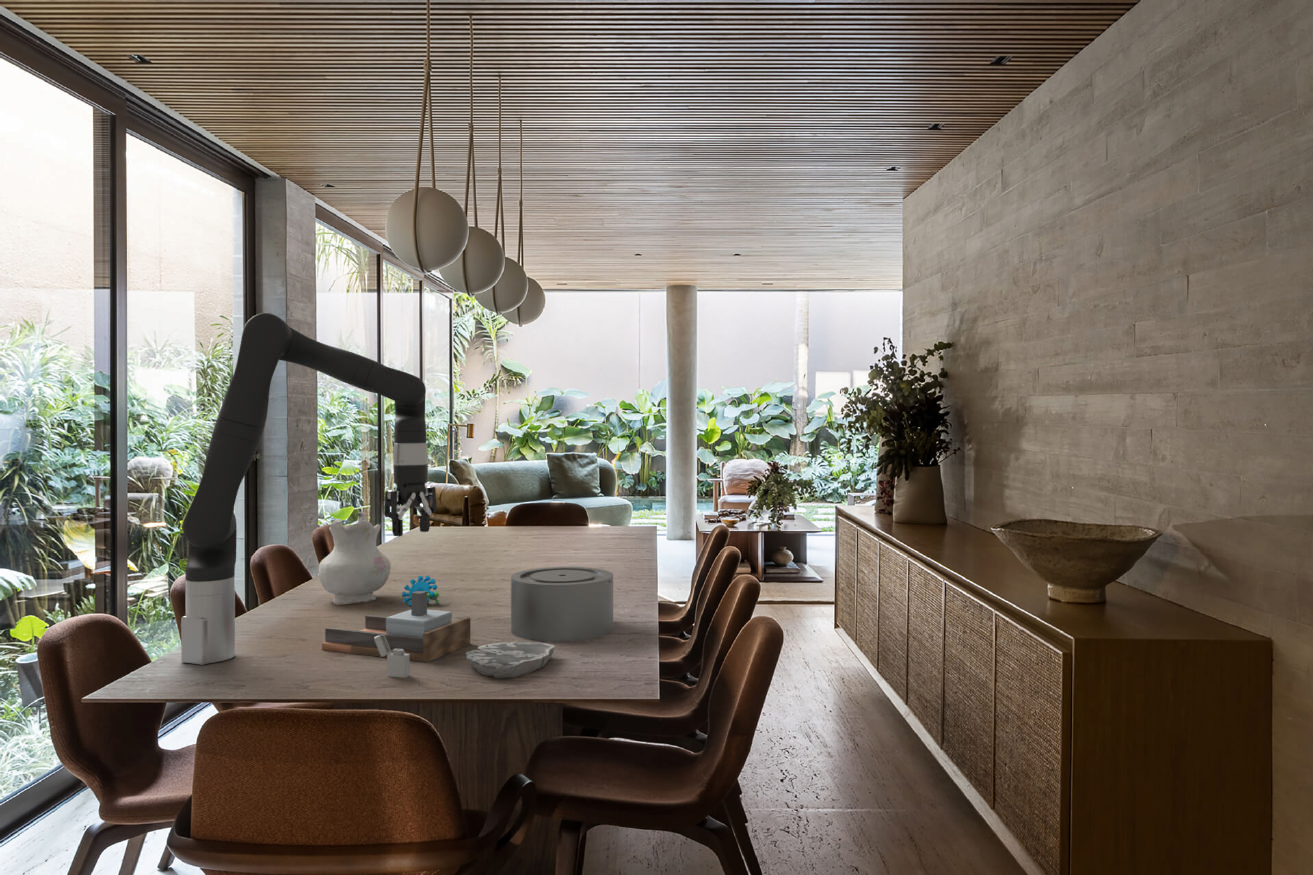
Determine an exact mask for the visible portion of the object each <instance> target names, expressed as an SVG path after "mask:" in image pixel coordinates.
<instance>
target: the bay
mask: <svg viewBox="0 0 1313 875" xmlns="http://www.w3.org/2000/svg"><path fill="white" fill-rule="evenodd" d="M386 617H387V616H382V615H381V616H380V615H371V614H367V615H365V617H364V618H365V624H364V627H365V628H363V629H360V630H357V629H347V628H338V627H337V628H336V627H329V626H328V627H325V630H324V631H325V632H324V634H325V637H324V638H325V639H324V640H325V641H323V642H322V643H321V650H322V651H331V652H338V653H339V652H340V653H347V654H356V655H363V656H371V657H381V655H380V652H379V650H378V647H377V645H376V643H375V640H374V638H375V637H377V636H379V635H381V634H384V635H385V637H386V640H387V642H388V645H389V647H390V649H391V653H393V650H394V649H403V650H404V652H405V653H404V654H410V661H415V662H421V663H422V662H423V663H429V662H431V661H433V660H434V661H435V659H438V658H441V657H443V656H445V655H448V654H450V653H453V652H454V651H456V650H459V649H461V648H463V647H466V646H469V645H471V617H469V616H467V617H463V618H461V619H458V620H455V621H452V623H450V624H447V625H444V626H442V627H439V628H436V629H434V630H431V631H428V632H426V633H423V638H422V637H413V636H404V635H394V634H386ZM381 658H387V655H385V656H383V657H381Z"/></svg>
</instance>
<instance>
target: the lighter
mask: <svg viewBox="0 0 1313 875" xmlns="http://www.w3.org/2000/svg"><path fill="white" fill-rule="evenodd" d="M374 640H375V643H376V645H377V647H378V650H379V652H380V655H381V658H384V657H383V656H385V655H387V657H386V664H387V665H386V670H387V671H386V672H387V674H386V676H387V677H391V678H401V679H406V678H408V677H410V672H411V670H410V666H411V665H410V663H411V660H410V654H404V653H405V652H404V650H403V649H394V650H393V653H391V649H390V647H389V645H388V642H387V640H386V637H385V635H384V634H381V635H379V636H377V637H375V638H374Z"/></svg>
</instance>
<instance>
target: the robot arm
mask: <svg viewBox="0 0 1313 875" xmlns="http://www.w3.org/2000/svg"><path fill="white" fill-rule="evenodd" d="M236 361H237V362H236V366H235V368H234V372H233V375H232V377H231V378H232V379H231V380H230V383H229V384H228V387H227V390H226V392H225V395H224V397H223V398H224V399H223V400H222V404H221V406H220V409H219V412H218V415H217V418H216V421H215V423H214V427H213V429H212V433H211V438H210V441H209V445H208V449H207V454H206V458H205V462H204V467H203V472H202V476H201V479H200V483H199V485H198V488H197V490H196V493H195V494H194V497H193V499H192V501H191V504H190V506H189V508H188V510H187V512H186V515H185V516H184V519H183V522H182V532H183V535H184V537H185V539H186V541H187V542H188V547H187V548H188V549H187V550H188V551H187V552H188V554H187V561H186V566H185V571H184V572H185V573H184V574H185V577H184V578H185V615H184V616H182V617H181V619H180V620H181V621H180V623H181V624H180V626H181V627H180V628H181V629H180V630H181V631H180V633H181V635H180V636H181V637H180V638H181V640H180V641H181V643H180V644H181V646H180V647H181V649H180V650H181V656H180V658H181V659H180V660H181V663H187V664H188V663H189V664H193V665H202V666H203V665H207V664H211V663H219V662H223V661H226V660H230V659H233V658H234V657H235V656H236V618H235V617H236V598H235V597H236V596H235V595H236V594H235V593H236V592H235V591H236V590H235V589H236V586H235V584H236V582H235V580H236V579H235V578H236V577H235V575H236V572H235V571H236V570H235V569H236V562H237V533H238V532H237V531H238V530H237V529H238V528H237V518H236V516H235V513H234V509H235V504H236V500H237V496H238V493H239V489H240V486H241V484H242V482H243V479H244V477H245V475H246V473H247V472H248V469H249V468H250V466H251V463H252V462H253V460H254V457H255V456H256V453H257V451H258V449H259V446H260V442H261V440H262V437H263V434H264V431H265V430H264V429H265V426H266V422H267V419H268V410H269V403H270V402H269V401H270V389H271V384H272V381H273V380H272V379H273V376H274V373H275V371H276V369H277V366H278V364H279V361H283V362H288V363H292V364H297V365H299V366H303V367H305V368H309V369H311V370H313V371H314V370H315V371H316V372H320V373H322V374H324V375H326V376H329V377H331V378H333V379H336V380H338V381H340V382H342V383H345V384H347V385H350V386H352V387H355V388H357V389H360V390H363V391H365V392H368V393H374V394H378V395H380V396H383V397H385V398H387V399H389V400H391V401H394V412H395V419H394V420H395V421H394V425H393V426H394V427H393V434H394V435H393V440H394V443H393V452H392V453H393V455H392V456H393V457H392V458H393V459H392V460H393V466H392V468H393V483H394V484H395V486H396V488H395V490H394V489H392V490H391V489H388V490H387V489H386V490H385V491H384V512H383V513H384V514H383V515H384V517H385V518H388V519H391V528H392V529H391V532H392V534H393V537H401V536H402V537H403V535H404V526H403V525H404V522H403V521H404V519H403V517H404V516H405V513H406V512H408V511H409V509H412V508H415V509H416V510H417V511H418V512H419V514H420V515H419V532H421V533H427V532H429V531H430V528H431V523H430V522H431V519H430V518H431V517H430V516H431V515H432V513H436V512H437V492H436V490H437V489H436V487H435V486H431V485H430V486H426V484H427V483H428V482H429V469H428V468H429V466H428V464H429V462H428V461H429V460H428V459H429V457H428V456H429V455H428V454H429V453H428V446H427V424H426V419H425V418H426V417H425V416H426V392H427V390H426V385H425V383H424V381H423V380H422V379H421V378H419V377H418V376H416V375H414V374H411V373H408V372H405V371H402V370H400V369H396V368H392V367H389V366H387V365H384V364H382V363H381V362H378V361H376V360H373V359H372V358H368V357H365V356H363V355H361V354H358V353H356V352H353V351H349V350H346V349H342V348H338V347H335V346H332V345H329V344H325V343H322V342H321V341H317V340H315V339H313V338H311V337H308V336H306V335H304V334H303V333H301V332H299V331H297V330H296V329H294V328H292V327H291V326H290V325H289V324H287V323H286V321H285V320H284V319H282V318H281V317H280V316H278V315H276V314H274V313H271V312H261V313H258V314H256V315H253V316H252V317H251V318H250V319H248V320H247V322H246V323H245V324H244V327H243V330H242V333H241V340H240V345H239V351H238V356H237V360H236Z"/></svg>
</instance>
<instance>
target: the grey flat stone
mask: <svg viewBox="0 0 1313 875" xmlns="http://www.w3.org/2000/svg"><path fill="white" fill-rule="evenodd" d="M554 651H555V645H554V644H551V643H546V642H541V641H531V640H524V641H509V642H508V641H507V642H498V643H497V642H496V643H488V644H483V645H479V646H477V647H476V649H471V650H469V651H466V652H464V655H465V659H466V660H467V661H468V662H470V663H471V666H472V667H473V668H474V669H475V670H476V672H478V673H479V674H480V675H483V676H490V677H493V678H494V679H495V678H496V679H510V678H512V679H513V678H516V677H519V676H523V675H527V674H529V673H533V672H534V671H535V672H536V671H537V670H538V669H542V668H544V666H546V664H547V663H548V661H550V659H551V657H552V656H553V654H554Z"/></svg>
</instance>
